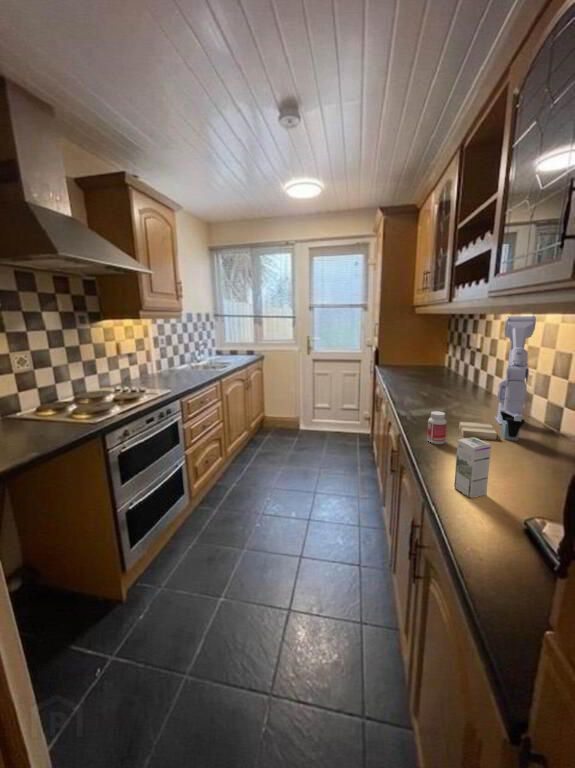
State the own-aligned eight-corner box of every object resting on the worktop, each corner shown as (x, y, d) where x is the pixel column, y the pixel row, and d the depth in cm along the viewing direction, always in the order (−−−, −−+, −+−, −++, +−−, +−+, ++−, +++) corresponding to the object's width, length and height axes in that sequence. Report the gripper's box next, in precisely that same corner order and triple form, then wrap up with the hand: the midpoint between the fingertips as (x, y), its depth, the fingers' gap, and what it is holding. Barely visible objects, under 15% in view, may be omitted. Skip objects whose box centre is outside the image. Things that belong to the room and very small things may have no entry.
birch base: (459, 427, 138) (459, 421, 138) (489, 429, 135) (490, 423, 134) (463, 436, 128) (463, 430, 128) (496, 439, 125) (497, 433, 124)
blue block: (501, 435, 129) (502, 420, 128) (514, 436, 127) (516, 421, 126) (504, 439, 125) (505, 424, 124) (518, 440, 123) (520, 425, 122)
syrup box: (487, 495, 89) (493, 443, 86) (469, 499, 87) (474, 447, 84) (470, 485, 94) (474, 436, 91) (452, 488, 92) (456, 438, 89)
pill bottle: (448, 442, 124) (450, 413, 121) (438, 446, 120) (440, 416, 118) (433, 437, 129) (435, 409, 126) (423, 441, 126) (425, 412, 123)
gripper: (496, 393, 131) (493, 426, 134) (506, 403, 118) (502, 439, 120) (518, 394, 129) (513, 427, 131) (530, 404, 115) (525, 441, 118)
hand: (509, 433), depth 126 cm, fingers open, 6 cm apart
